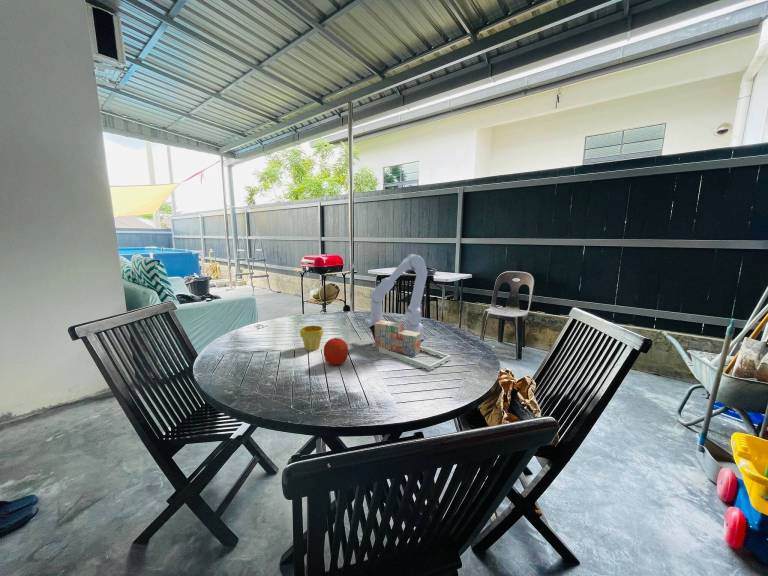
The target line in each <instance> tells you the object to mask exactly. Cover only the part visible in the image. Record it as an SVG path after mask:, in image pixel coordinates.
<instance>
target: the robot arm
mask: <svg viewBox="0 0 768 576" xmlns="http://www.w3.org/2000/svg"><path fill="white" fill-rule="evenodd" d="M409 270H413V271H414V273H415V274H416V275H415V276H416V277H415V280H414V285H413V289H412V294H411V297H410V304H409V305H408V306H407V310H406V311H405V312H404V318H405V322H404V323H405V325H404V326H405V327H404V330H408V331H413V332H418V333H421V339H424V325H423V324H422V323H421V321H422V317H421V314H422V313H421V312H422V311H421V305H422V300H423V295H424V291H425V287H426V281H427V277H428V273H429V272H428V269H427V266H426V261H425V259H424V258H423V257H422V256H421V255H418V254H414V253H410V254H408V255H407V256H406V257H405V258H404V259H403V260H402V261H401V262H400V263H399V265H398V266H397V267H396V268H395V270H394V271H393V272H392V273H391V274H390V276H389V277H385V278H382V279H381V282H380V283H379V284H378V285H377V286H375V287H374V289H373V290H371V292H370V294H369V298H370V319H368V318H367V319H365V321H364V324H365V325H367V324H368V325H369V330H370V331H371V334H372V338H373V340H374V341H375V323H376V322H378V321H381V320H383V300H384V297H385V296H386V295H387V294H388V293H389V292H390V290H391V289H393V287H394V285H395V281H396V280H398V278H399V277H400V276H401V275H402V274H404V273H405V272H406V271H409ZM421 339H420V340H421Z"/></svg>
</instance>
